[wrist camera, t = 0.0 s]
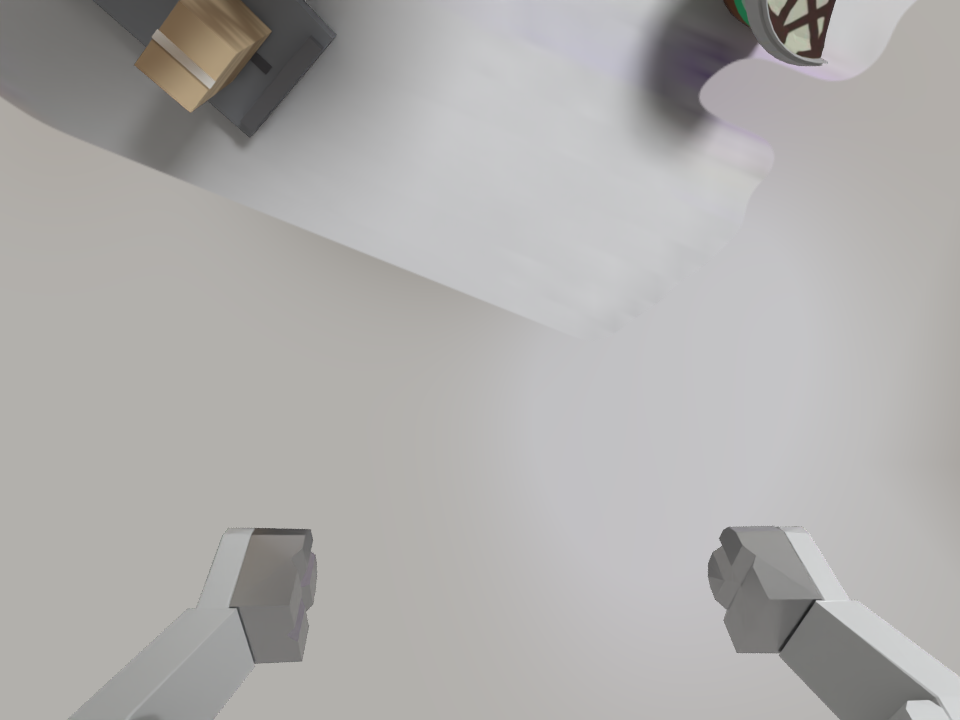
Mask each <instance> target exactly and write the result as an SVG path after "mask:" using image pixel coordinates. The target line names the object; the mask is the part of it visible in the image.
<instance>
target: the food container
mask: <svg viewBox="0 0 960 720" xmlns="http://www.w3.org/2000/svg"><path fill="white" fill-rule="evenodd" d="M835 1H836V0H724V3H725V5H726V6H727V8H728V10H729V11H730V13H731V14H732V15H733V16H734V17H735V18H736V19H738V20H739V21H741V22H742V23H744V24H745V25H747V26H748V27H750V28H751V29H752V32H753V34H754V35H755V37H756V39H757V40H758V42H759V44H760V45H761V46H762V47H763V48H764V49H765V50H766V51H767V52H768V53H769V54H771V55H772V56H774V57H775V58H777V59H779V60H781V61H783V62H786V63H788V64H793V65H798V66H822V64H823V63H828V62H827V61H825V60H824V59H822V58H821V55H822V51H823V48H824V43H825V37H826V33H827V29H828V25H829V21H830V18H831V14H832V11H833V8H834V4H835Z"/></svg>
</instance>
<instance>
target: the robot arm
mask: <svg viewBox="0 0 960 720" xmlns="http://www.w3.org/2000/svg"><path fill="white" fill-rule="evenodd" d="M719 539H720V541H721V544H722V546H721V547H720V548H718V549H717V550H715V551H714V552H713V553H712V555H711V558H710V560H709V563H708V578H709V583H710V587H711V590H712V593H713V595H714V598H715V600H716V601H718V602H719V603H720V604H721V605H722V606H723V607H724V608H725V609H727V611H726V614H725V617H724V623H725V625H726V628H727V630H728V633H729V635H730V637H731V640H732V642H733V644H734V647H735V649H736V652H737V653H780V654H779V656H780V657H781V658H782V660H784V662H785V663H786V664H787V665H788V666H789V667H790V668H791V669H792V670H793V671H794V672H795V673H796V674H797V675H798V676H799V677H800V678H801V679H802V680H803V681H804V682H805V684H806V685H807V686H808V687H809V688H810V689H811V690H812V691H813V692H814V693H815V694H816V695H817V696H818V697H819V698H820V699H821V700H822V701H823V702H824V703H825V704H826V705H827V707H829V709H830V710H831V711H832V712H833V713H834V714H835V715H836V716H837V717H838V718H839V719H840V720H960V677H959V676H958V675H957V674H955V673H954V672H953V671H951V670H950V669H949V668H947V667H946V666H945V665H943V664H942V663H941V662H939V661H938V660H936V659H935V658H934V657H933V656H931V655H930V654H929V653H927V652H926V651H924V650H923V649H922V648H920V647H919V646H918V645H917V644H915V643H914V642H913V641H911V640H910V639H909V638H907V637H906V636H905V635H903V634H902V633H901V632H899V631H898V630H897V629H895V628H894V627H893V626H891V625H890V624H888V623H887V622H886V621H885V620H883V619H882V618H881V617H879V616H878V615H876V614H875V613H874V612H872V611H871V610H870V609H869V608H867V607H866V606H864V605H863V604H862V603H860V602H859V601H858V600H850V599H849V597H848V596H847V594H846V593H845V591H844V589H843V588H842V586H841V584H840V583H839V581H838V580H837V578H836V576H835V575H834V573H833V571H832V570H831V568H830V566H829V565H828V563H827V562H826V560H825V558H824V557H823V555H822V553H821V552H820V550H819V548H818V547H817V545H816V543H815V542H814V540H813V539H812V537H811V535H810V534H809V532H808V531H807V530H806V529H804V528H803V527H797V526H794V527H774V526H751V527H728V528H726V529H724V530H723V532H722V534H721V536H720V538H719ZM312 542H313V538H312V533H311V530H310V529H275V528H228V529H227V530H226V531H225V533H224V534H223V536H222V538H221V541H220V543H219V546H218V549H217V552H216V554H215V557H214V560H213V563H212V566H211V569H210V571H209V574H208V577H207V579H206V582H205V585H204V588H203V590H202V593H201V596H200V599H199V602H198V604H197V607H196V608H192V609H187V610H186V611H185V612H184V613H182V614H181V615H180V616H179V617H178V618H177V619H176V620H175V621H174V622H173V623H172V624H171V625H169V626H168V627H167V628H166V629H165V630H164V631H163V632H162V633H161V634H160V635H159V636H157V637H156V638H155V639H154V640H153V641H152V642H151V643H150V644H149V645H148V646H146V647H145V648H144V649H143V650H142V651H141V652H140V653H139V654H138V655H137V656H136V657H135V658H134V659H132V660H131V661H130V662H129V663H128V664H127V665H126V666H125V667H124V668H123V669H121V670H120V671H119V672H118V673H117V674H116V675H115V676H114V677H113V678H112V679H111V680H110V681H108V682H107V683H106V684H105V685H104V686H103V687H102V688H101V689H100V690H99V691H98V692H96V693H95V694H94V695H93V696H92V697H91V698H90V699H89V700H88V701H87V702H86V703H85V704H84V705H82V706H81V707H80V708H79V709H78V710H77V711H76V712H75V713H74V714H73V715H71V716H70V717H69V718H68V719H67V720H213V719H214V718H215V717H216V716H217V714H218V713H219V712H220V710H221V709H222V708H223V707H224V705H225V704H226V703H227V701H228V700H229V699H230V698H231V697H232V695H233V694H234V693H235V691H236V690H237V689H238V687H239V686H240V685H241V684H242V683H243V681H244V680H245V679H246V677H247V676H248V675H249V673H250V672H251V671H252V670H253V669H254V667H255V665H254V664H256V663H257V664H258V663H279V662H299V661H302V659H303V654H304V649H305V643H306V638H307V633H308V628H309V625H308V620H307V614H306V611H307V610H308V609H309V608H310V607H311V606H312V605H313V602H314V596H315V590H316V579H317V562H316V555H315V554H314V553H312V552H311V547H312Z"/></svg>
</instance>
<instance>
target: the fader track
mask: <svg viewBox="0 0 960 720" xmlns="http://www.w3.org/2000/svg"><path fill="white" fill-rule="evenodd" d="M93 1H94V2H95V3H97V4H98V5H99V6H100V7H101V8H102V9H103V10H105V11H106V12H107V13H108V14H109V15H110V16H111V17H113V18H114V19H115V20H116V21H117V22H118V23H119V24H121V25H122V26H123V27H124V28H125V29H126V30H127V31H129V32H130V33H131V34H132V35H133V36H134V37H135V38H137V39H138V40H139V41H140V42H141V43H142V44H143V45H145V46H146V47H147V46H148V44H149V43H150V41H151V40H152V39H153V38H152V36H153V34H154V33H155V31H156V30H157V29H158V30H159V29H160V27H161V26H162V24H163V23H164V21H165V20H166V18H167V17H168V16H169V14H170V13H171V11H172V10H173V8H174V7H175V6H176V4H177V3H178V1H179V0H93ZM241 1H242V2H243V3H244V4H245V5H246V6H247V7H248V8H249V9H250V10H251V11H252V12H253V13H254V14H255V15H256V16H257V17H258V18H259V19H260V20H261V21H262V22H263V23H264V24H265V25H266V26H267V27H268V28H269V29H270V30H271V31H272V32H271V33H270V35H269V36H268V37H267V38H266V40H265V41H264V42H263V44H262V45H261V46H260V47H259V49H258V50H257V51H256V52H255V54H254V55H253V56H252V58H251V59H250V60H249V61H248V63H247V64H246V65H245V66H244V68H243V69H242V70H241V71H240V73H239V74H238V75H237V77H236V78H235V79H234V80H233V81H232V82H231V83H230V84H228V85H227V86H226V87H224V88H223V89H222V90H220V91H219V92H218V93H216V94H215V95H214V96H212V97H211V98H210V99H209V100H207V101H209V102H210V103H211V104H212V105H213V106H214V107H215V108H217V109H218V110H219V111H220V112H221V113H222V114H223V115H225V116H226V117H227V118H228V119H229V120H230V121H231V122H233V123H234V124H235V125H236V126H237V127H238V128H239V129H241V130H242V131H243V132H244V133H245V134H246V135H247V136H249V137H251V136H252V135H253V134H254V133H255V131H256V130H257V129H258V128H259V127H260V126H261V124H262V123H263V122H264V121H265V120H266V118H267V117H268V116H269V115H270V114H271V112H272V111H273V110H274V109H275V108H276V107H277V105H278V104H279V103H280V102H281V101H282V99H283V98H284V97H285V96H286V95H287V93H288V92H289V91H290V90H291V89H292V88H293V86H294V85H295V84H296V83H297V82H298V80H299V79H300V78H301V77H302V76H303V74H304V73H305V72H306V71H307V70H308V68H309V67H310V66H311V65H312V64H313V63H314V61H315V60H316V59H317V58H318V57H319V55H320V54H321V53H322V52H323V51H324V49H325V48H326V47H327V46H328V45H329V44H330V42H331V41H332V40H333V39H334V38H335V36H336V34H335V33H334V32H333V31H332V30H331V29H330V28H329V27H328V26H327V25H326V24H325V22H324V21H323V20H322V19H321V18H320V17H319V16H318V15H317V14H316V13H315V12H314V11H313V10H312V9H311V8H310V7H309V6H308V5H307V4H306V3H305V1H304V0H241Z"/></svg>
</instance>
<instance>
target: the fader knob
mask: <svg viewBox="0 0 960 720" xmlns="http://www.w3.org/2000/svg"><path fill="white" fill-rule="evenodd" d="M271 32H272V31H271V30H270V29H269V28H268V27H267V26H266V25H265V24H264V23H263V22H262V21H261V20H260V19H259V18H258V17H257V16H256V15H255V14H254V13H253V12H252V11H251V10H250V9H249V8H248V7H247V6H246V5H245V4H244V3H243V2H242V1H241V0H179V1H178V3H177V4H176V6H175V7H174V8H173V10H172V11H171V13H170V14H169V16H168V17H167V18H166V20H165V21H164V23H163V24H162V26H161V27H160V29H159V30H158V29H157V30H156V31H155V33H154V34H153V36H152V38H153V39H152V40H151V41H150V43H149V44H148V46H147V47H146V49H145V50H144V52H143V53H142V54H141V56H140V57H139V59H138V60H137V62H136V63H135V64H134V65H135V66H136V67H137V68H138V69H139V70H141V71H142V72H143V73H144V74H145V75H146V76H148V77H149V78H150V79H151V80H152V81H154V82H155V83H156V84H157V85H158V86H159V87H161V88H162V89H163V90H164V91H165V92H166V93H168V94H169V95H170V96H171V97H172V98H173V99H175V100H176V101H177V102H178V103H179V104H181V105H182V106H183V107H184V108H185V109H186V110H188V111H189V112H190V113H191V112H193V111H194V110H195V109H197V108H198V107H199V106H201V105H202V104H203V103H205V102H206V101H207V100H209V99H210V98H211V97H212V96H214V95H215V94H216V93H218V92H219V91H220V90H222V89H223V88H224V87H226V86H227V85H228V84H230V83H231V82H232V81H233V80H234V79H235V78H236V77H237V75H238V74H239V73H240V71H241V70H242V69H243V68H244V66H245V65H246V64H247V63H248V61H249V60H250V59H251V58H252V56H253V55H254V54H255V52H256V51H257V50H258V49H259V47H260V46H261V45H262V44H263V42H264V41H265V40H266V38H267V37H268V36H269V35H270V33H271Z"/></svg>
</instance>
